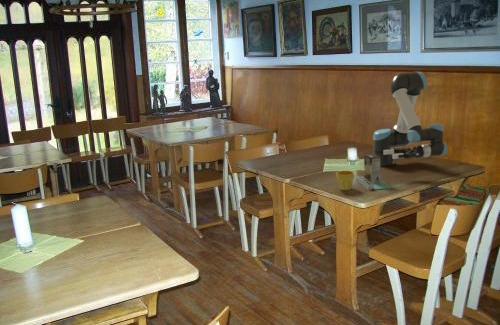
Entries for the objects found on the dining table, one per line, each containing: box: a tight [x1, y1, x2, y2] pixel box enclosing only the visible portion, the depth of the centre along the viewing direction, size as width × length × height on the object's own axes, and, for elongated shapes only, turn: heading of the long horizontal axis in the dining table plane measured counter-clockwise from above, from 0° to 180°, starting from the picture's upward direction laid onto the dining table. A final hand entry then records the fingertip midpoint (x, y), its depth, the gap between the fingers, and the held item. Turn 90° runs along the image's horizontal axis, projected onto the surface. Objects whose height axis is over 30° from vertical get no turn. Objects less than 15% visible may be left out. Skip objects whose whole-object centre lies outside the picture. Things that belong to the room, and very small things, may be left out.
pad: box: [372, 181, 392, 191], centre depth 296 cm, size 10×12×1 cm
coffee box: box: [363, 153, 381, 183], centre depth 305 cm, size 9×6×16 cm
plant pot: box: [335, 170, 355, 191], centre depth 295 cm, size 10×10×10 cm
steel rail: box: [356, 175, 375, 191], centre depth 300 cm, size 3×20×3 cm, turn 8°
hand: (388, 154), depth 304 cm, fingers open, 13 cm apart
